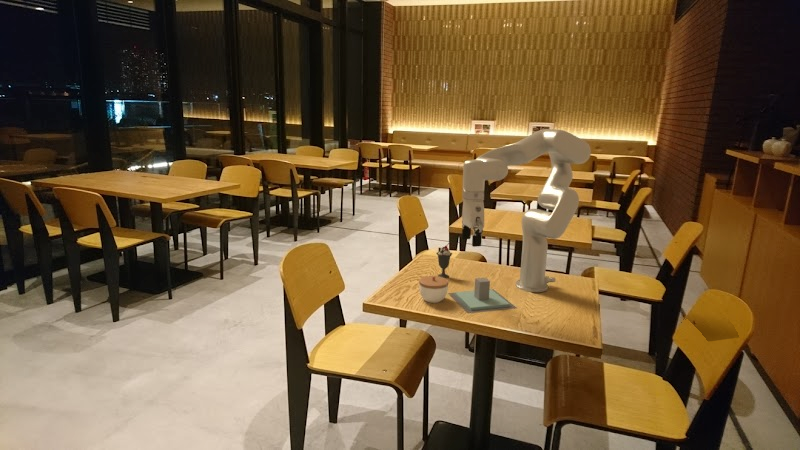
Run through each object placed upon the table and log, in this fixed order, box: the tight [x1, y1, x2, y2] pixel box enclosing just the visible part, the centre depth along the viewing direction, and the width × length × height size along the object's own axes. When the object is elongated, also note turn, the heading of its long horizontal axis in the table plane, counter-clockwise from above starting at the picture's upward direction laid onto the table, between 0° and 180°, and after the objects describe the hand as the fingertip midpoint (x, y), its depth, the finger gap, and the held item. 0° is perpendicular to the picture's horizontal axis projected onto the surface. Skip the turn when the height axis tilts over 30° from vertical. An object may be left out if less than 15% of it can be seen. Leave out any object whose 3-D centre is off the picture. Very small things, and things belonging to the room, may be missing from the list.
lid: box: [454, 277, 510, 310], centre depth 174 cm, size 15×15×8 cm
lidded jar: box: [418, 275, 449, 304], centre depth 174 cm, size 11×11×9 cm
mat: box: [447, 288, 518, 314], centre depth 175 cm, size 19×19×1 cm
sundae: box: [436, 242, 453, 279], centre depth 199 cm, size 7×7×15 cm
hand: (471, 242), depth 170 cm, fingers open, 9 cm apart
